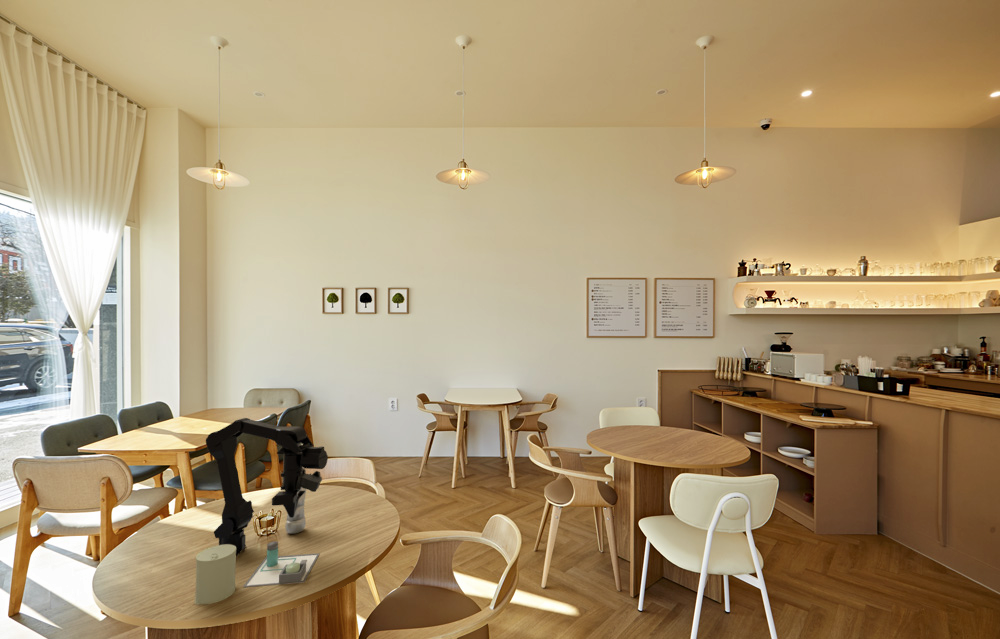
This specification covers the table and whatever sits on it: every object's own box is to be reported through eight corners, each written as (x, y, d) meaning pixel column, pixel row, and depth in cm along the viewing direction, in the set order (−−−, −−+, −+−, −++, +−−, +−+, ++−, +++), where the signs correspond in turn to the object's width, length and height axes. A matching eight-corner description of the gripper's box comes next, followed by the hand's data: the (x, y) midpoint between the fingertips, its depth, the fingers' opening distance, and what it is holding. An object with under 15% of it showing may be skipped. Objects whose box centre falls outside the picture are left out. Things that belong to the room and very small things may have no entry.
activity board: (242, 589, 117) (243, 578, 118) (265, 559, 133) (265, 549, 133) (304, 584, 120) (304, 573, 120) (319, 555, 136) (319, 546, 136)
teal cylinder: (265, 567, 128) (265, 546, 128) (268, 562, 131) (269, 541, 131) (275, 566, 128) (276, 545, 128) (279, 561, 131) (279, 540, 131)
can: (190, 610, 108) (191, 562, 109) (199, 590, 117) (200, 546, 117) (232, 601, 112) (233, 554, 113) (238, 583, 121) (239, 539, 121)
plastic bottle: (280, 534, 151) (281, 476, 151) (296, 526, 157) (297, 471, 158) (294, 537, 148) (295, 479, 149) (309, 529, 154) (310, 473, 155)
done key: (283, 580, 120) (284, 569, 120) (288, 573, 124) (288, 563, 124) (297, 579, 121) (297, 568, 121) (301, 572, 124) (301, 562, 124)
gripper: (310, 475, 129) (309, 528, 128) (326, 458, 148) (326, 504, 147) (271, 477, 128) (270, 530, 127) (292, 459, 146) (291, 506, 145)
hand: (292, 517), depth 137 cm, fingers closed
